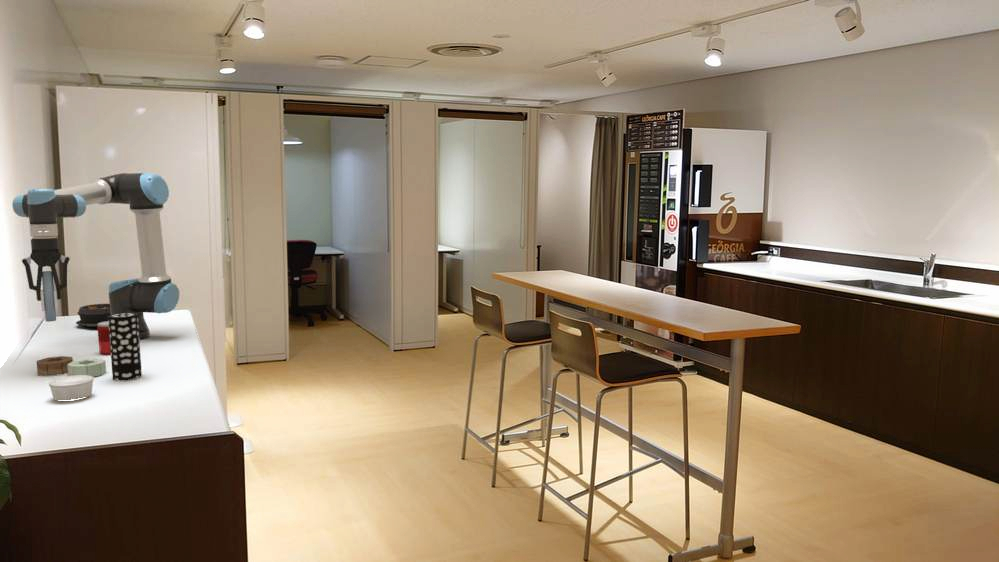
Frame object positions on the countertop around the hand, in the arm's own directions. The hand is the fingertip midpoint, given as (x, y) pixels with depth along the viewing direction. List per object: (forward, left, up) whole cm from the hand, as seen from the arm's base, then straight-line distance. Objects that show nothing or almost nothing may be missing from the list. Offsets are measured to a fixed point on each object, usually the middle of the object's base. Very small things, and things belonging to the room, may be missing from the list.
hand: (50, 310), depth 241 cm
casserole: (-15, -83, -21) cm, 87 cm away
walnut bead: (0, 0, -21) cm, 21 cm away
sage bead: (-9, +9, -21) cm, 24 cm away
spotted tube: (-20, +19, -21) cm, 35 cm away
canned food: (-17, -22, -21) cm, 35 cm away
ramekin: (-5, +36, -21) cm, 42 cm away
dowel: (0, 0, -4) cm, 4 cm away
